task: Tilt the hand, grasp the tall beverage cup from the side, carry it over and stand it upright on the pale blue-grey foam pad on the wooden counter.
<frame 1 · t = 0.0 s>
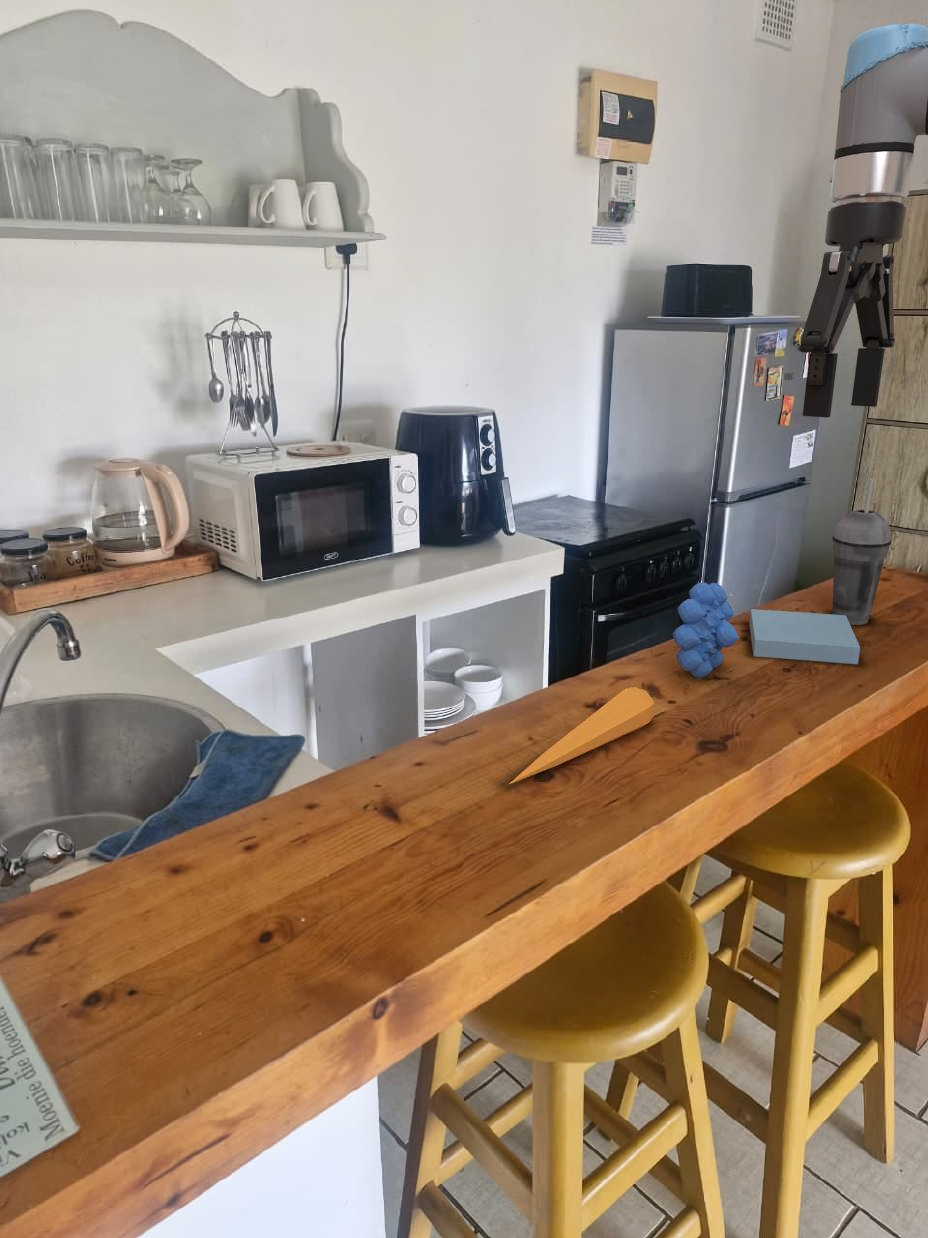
hand: (841, 411, 98), 30 cm above the countertop, tool pointing down, fingers open, 13 cm apart
carrot: (578, 752, 86), on the countertop
beverage cup: (849, 622, 120), on the countertop
foam pad: (800, 645, 111), on the countertop
grapes: (707, 681, 102), on the countertop
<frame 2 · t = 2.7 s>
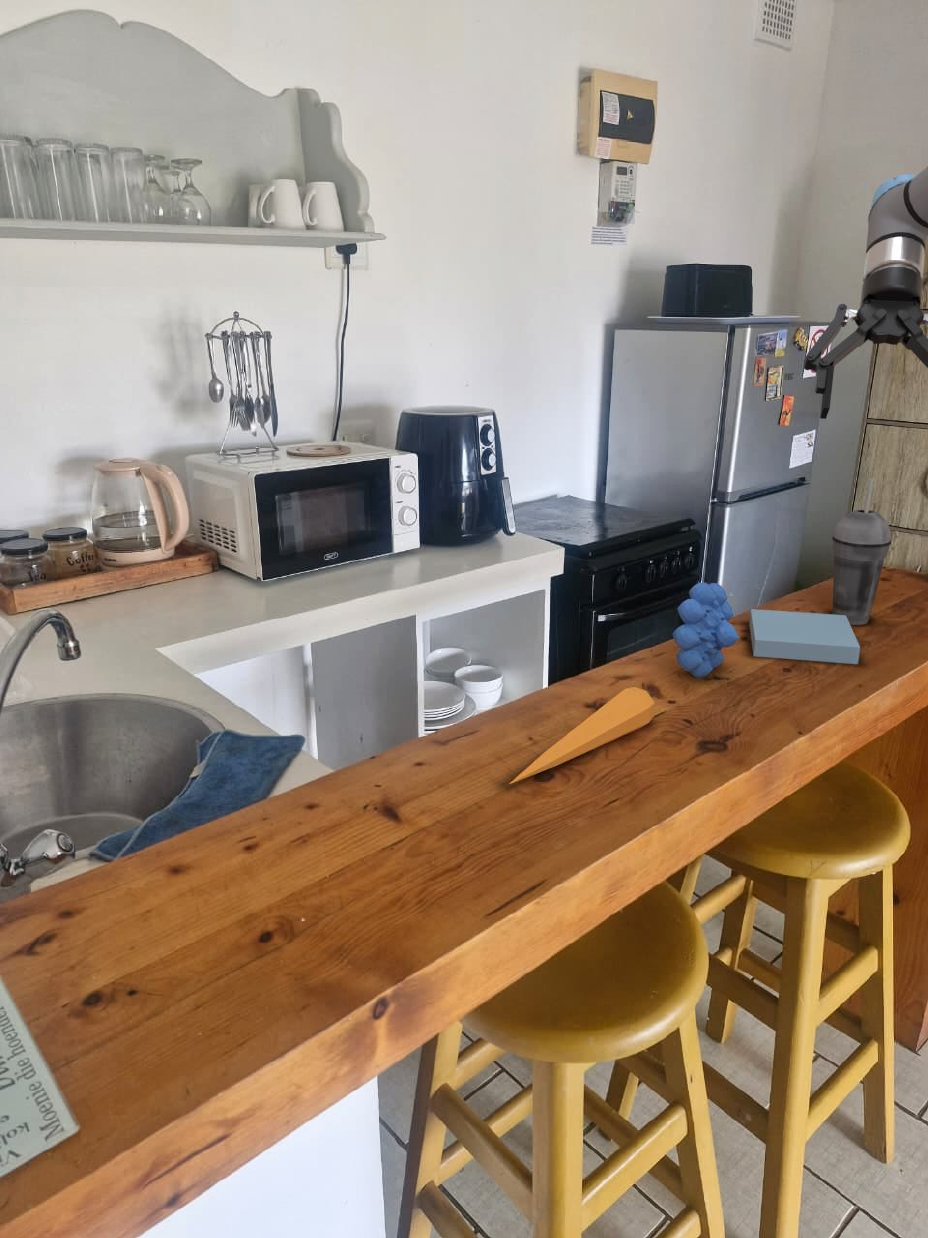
hand: (879, 417, 114), 27 cm above the countertop, tool tilted 35°, fingers open, 13 cm apart
nothing on the countertop moved.
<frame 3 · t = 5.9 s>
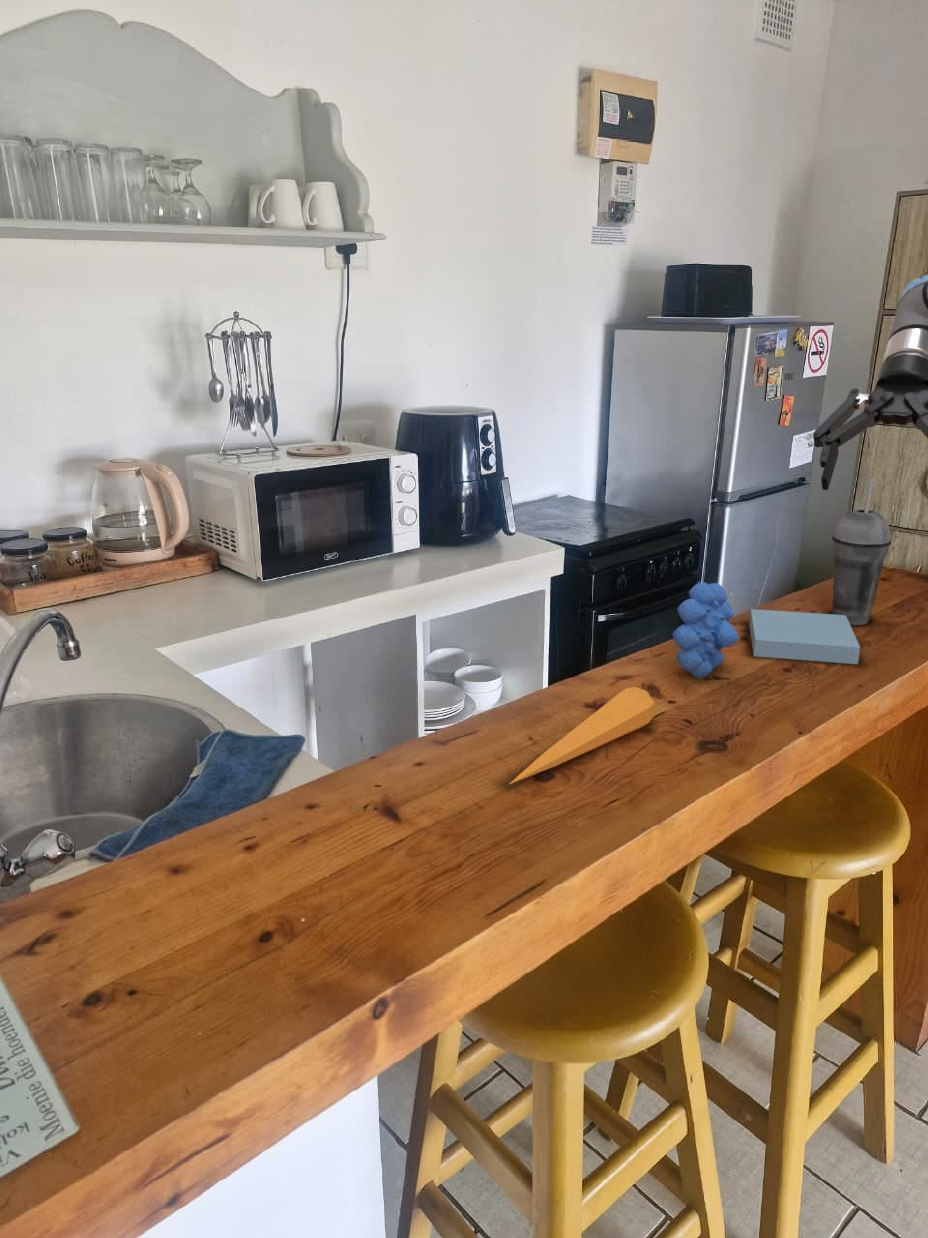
hand: (876, 488, 120), 17 cm above the countertop, tool tilted 45°, fingers open, 13 cm apart
nothing on the countertop moved.
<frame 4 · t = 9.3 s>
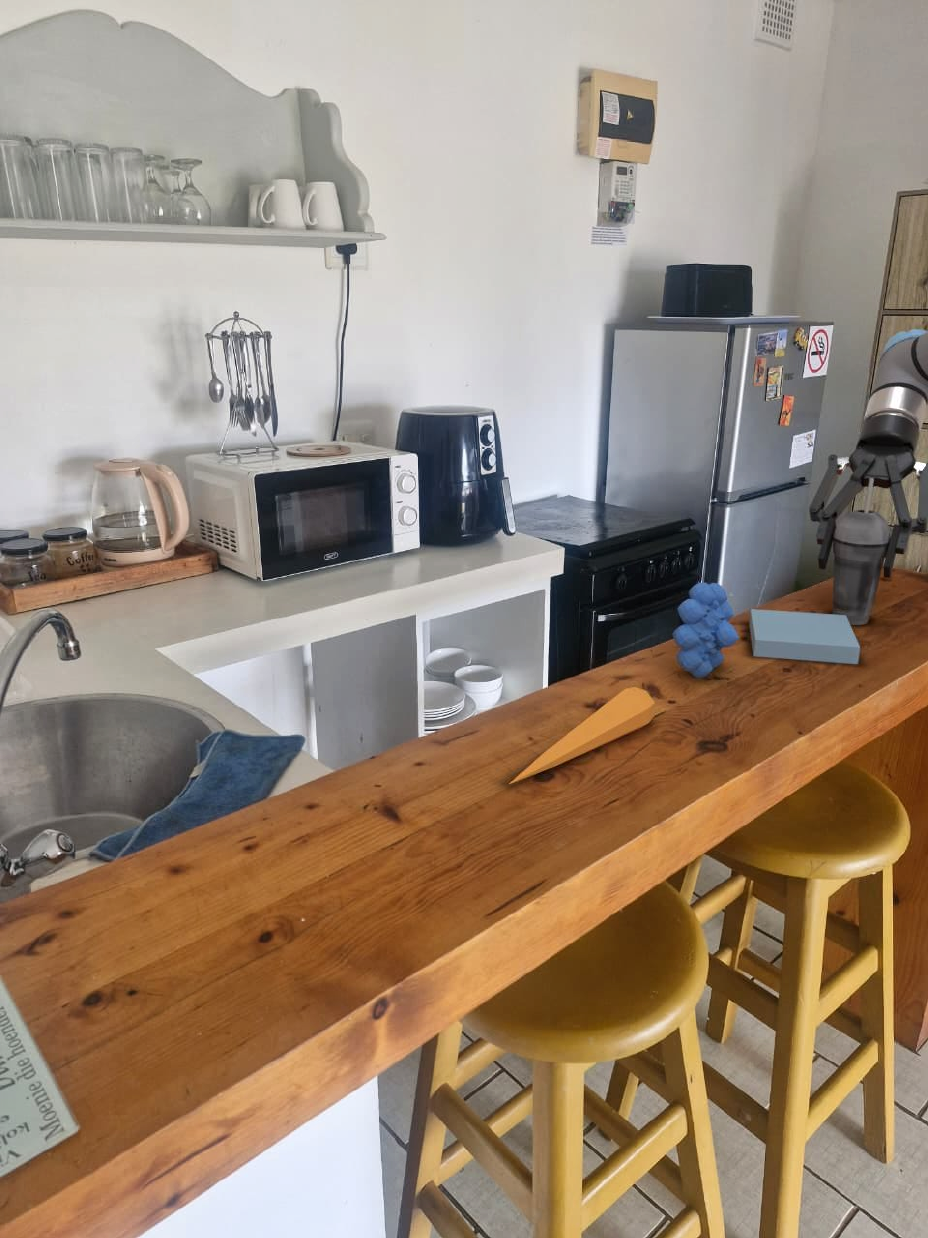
hand: (853, 567, 114), 9 cm above the countertop, tool tilted 45°, fingers closed on beverage cup, 7 cm apart
beverage cup: (849, 622, 120), on the countertop, touching gripper
everything else where it was.
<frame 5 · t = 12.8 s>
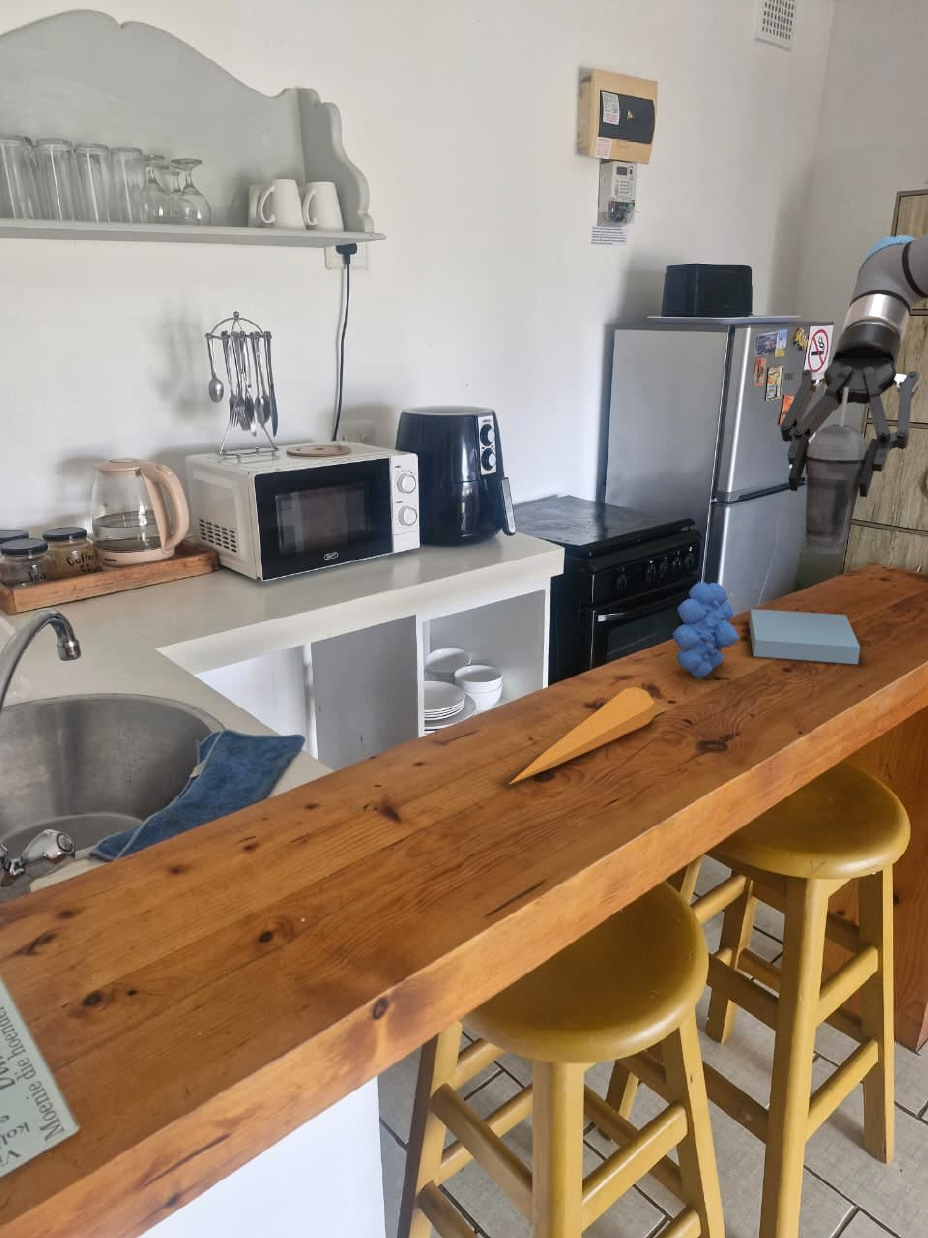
hand: (827, 487, 104), 20 cm above the countertop, tool tilted 45°, fingers closed on beverage cup, 7 cm apart
beverage cup: (824, 550, 110), point 12 cm above the countertop, touching gripper
everything else where it was.
when the fingers open (11 cm above the countertop, at t = 16.3 s): beverage cup stays where it is, resting on foam pad.
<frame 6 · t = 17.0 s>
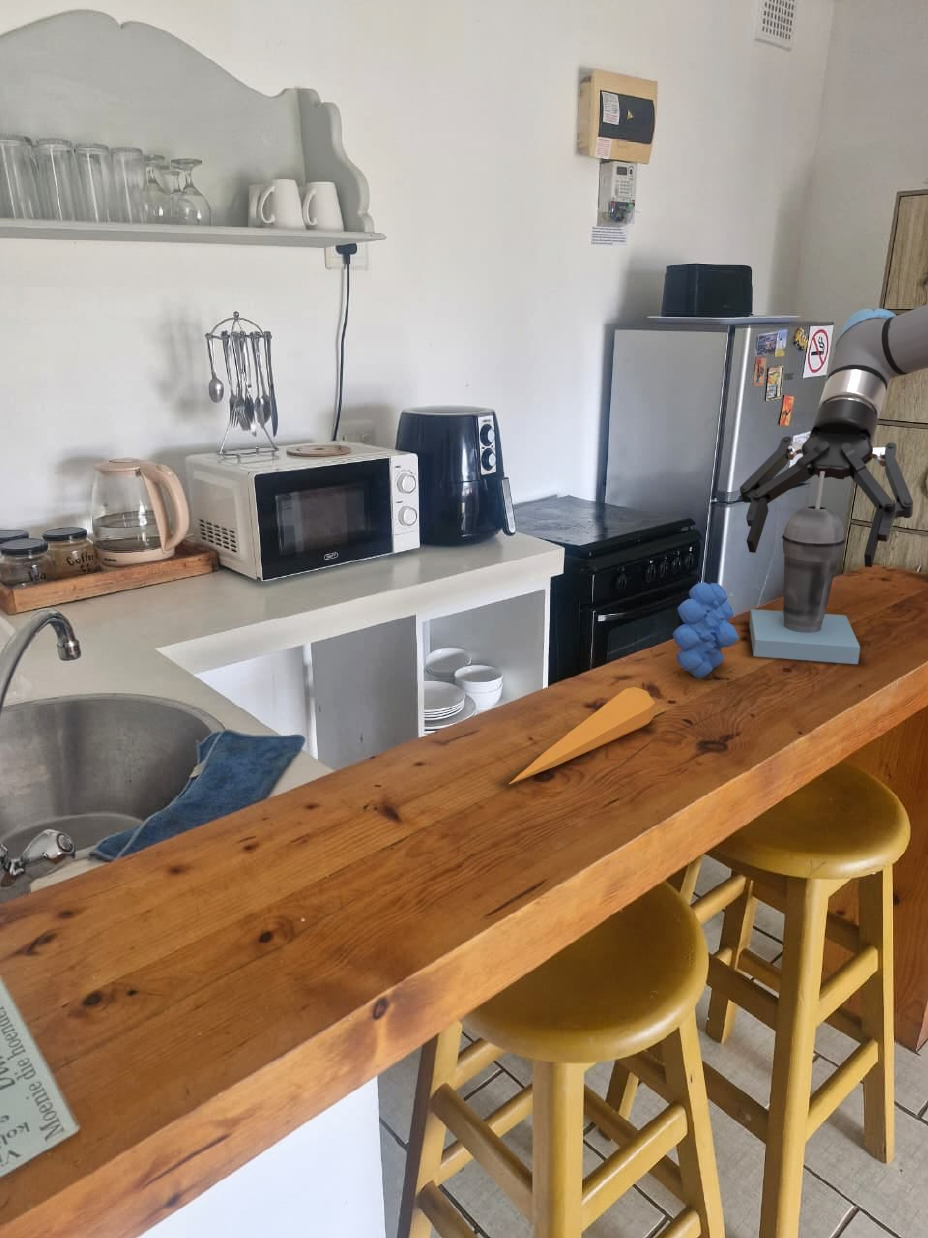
hand: (807, 554, 105), 13 cm above the countertop, tool tilted 45°, fingers open, 13 cm apart
beverage cup: (802, 628, 111), point 2 cm above the countertop, touching foam pad
everything else where it was.
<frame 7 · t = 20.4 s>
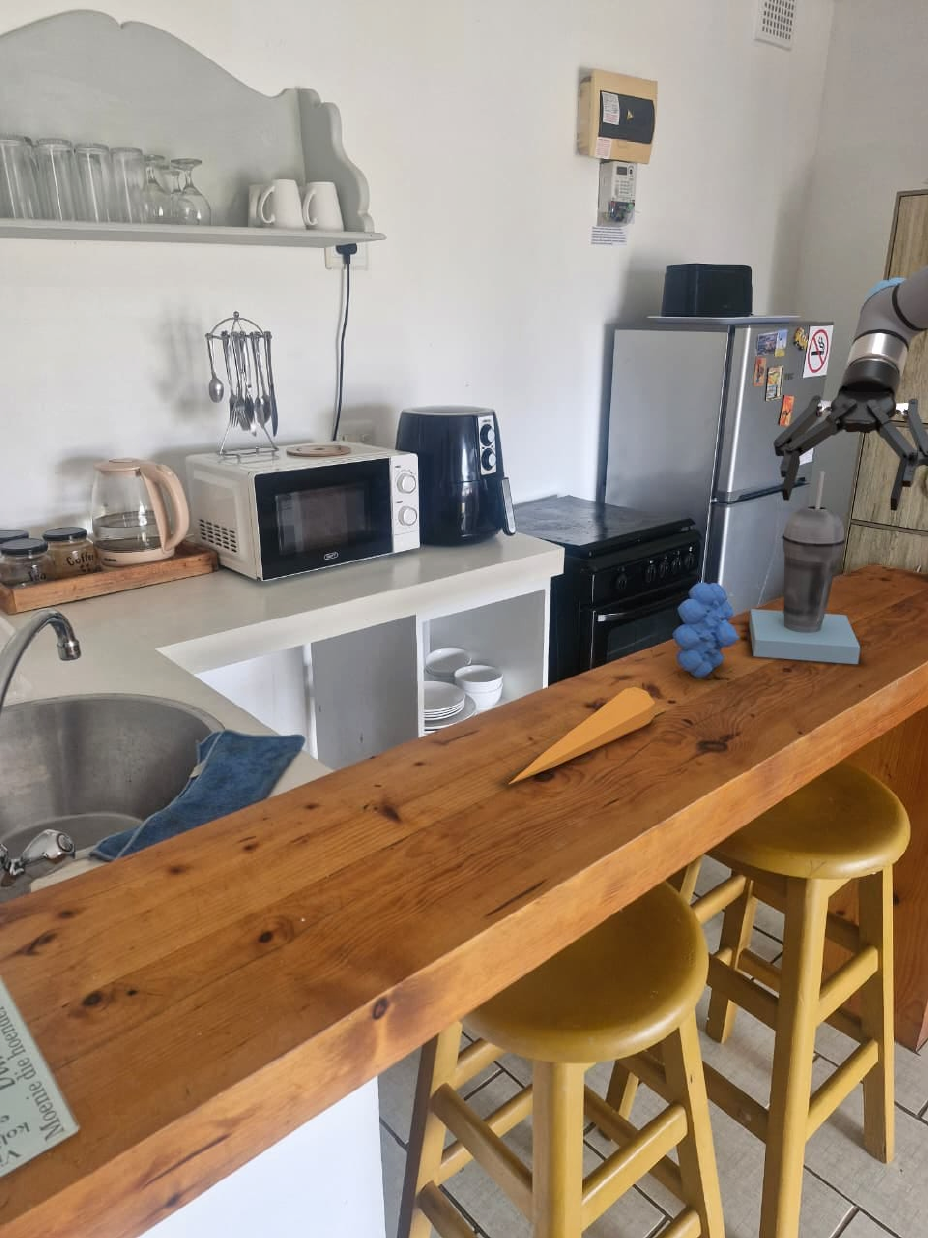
hand: (837, 499, 115), 17 cm above the countertop, tool tilted 45°, fingers open, 13 cm apart
nothing on the countertop moved.
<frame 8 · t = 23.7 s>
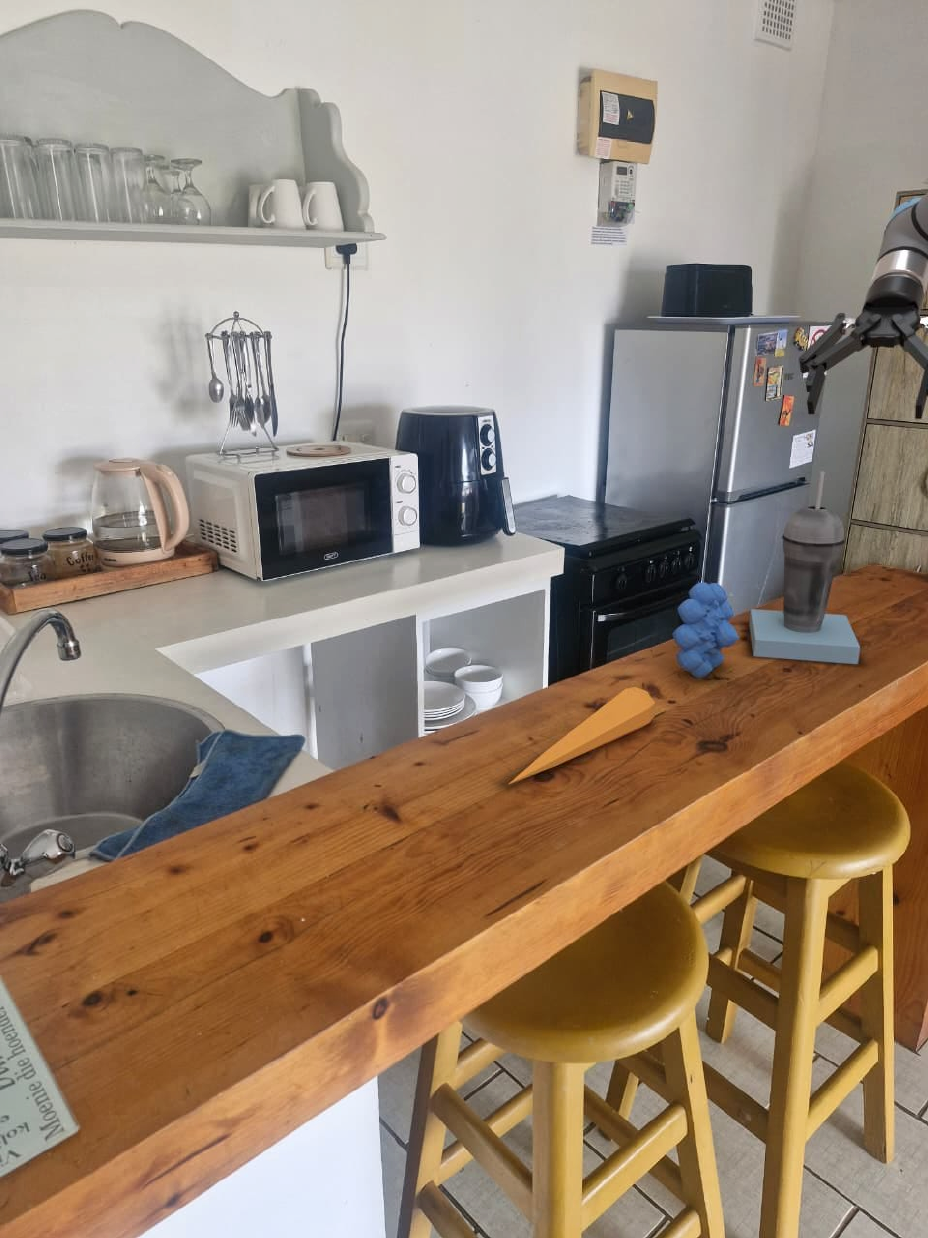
hand: (862, 410, 118), 28 cm above the countertop, tool tilted 45°, fingers open, 13 cm apart
nothing on the countertop moved.
at the end: beverage cup inside the target area on the foam pad (0.1 cm from its centre), point 2.3 cm above the foam pad's base; beverage cup tilted 0°; the gripper is holding nothing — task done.
